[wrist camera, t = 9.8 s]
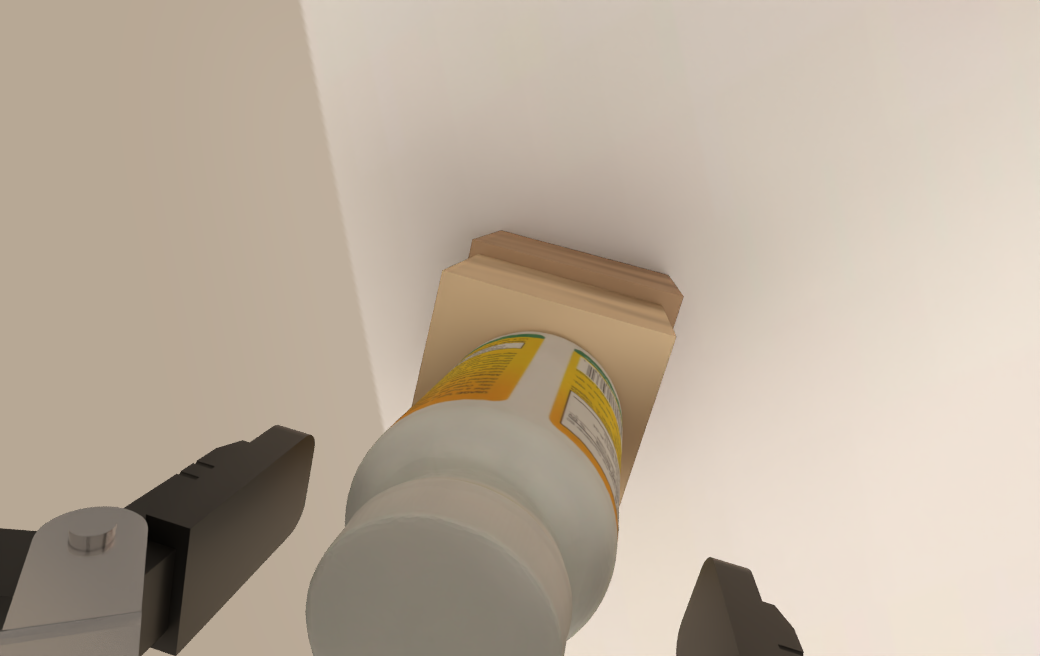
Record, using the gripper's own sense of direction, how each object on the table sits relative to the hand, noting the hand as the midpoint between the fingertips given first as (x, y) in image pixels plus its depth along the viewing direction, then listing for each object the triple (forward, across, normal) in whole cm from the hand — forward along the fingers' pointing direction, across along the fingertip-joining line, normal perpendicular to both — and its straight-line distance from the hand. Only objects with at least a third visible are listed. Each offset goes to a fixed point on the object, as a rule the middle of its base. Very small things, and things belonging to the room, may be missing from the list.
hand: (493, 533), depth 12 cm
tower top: (+12, 0, 0) cm, 12 cm away
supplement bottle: (+7, 0, 0) cm, 7 cm away
